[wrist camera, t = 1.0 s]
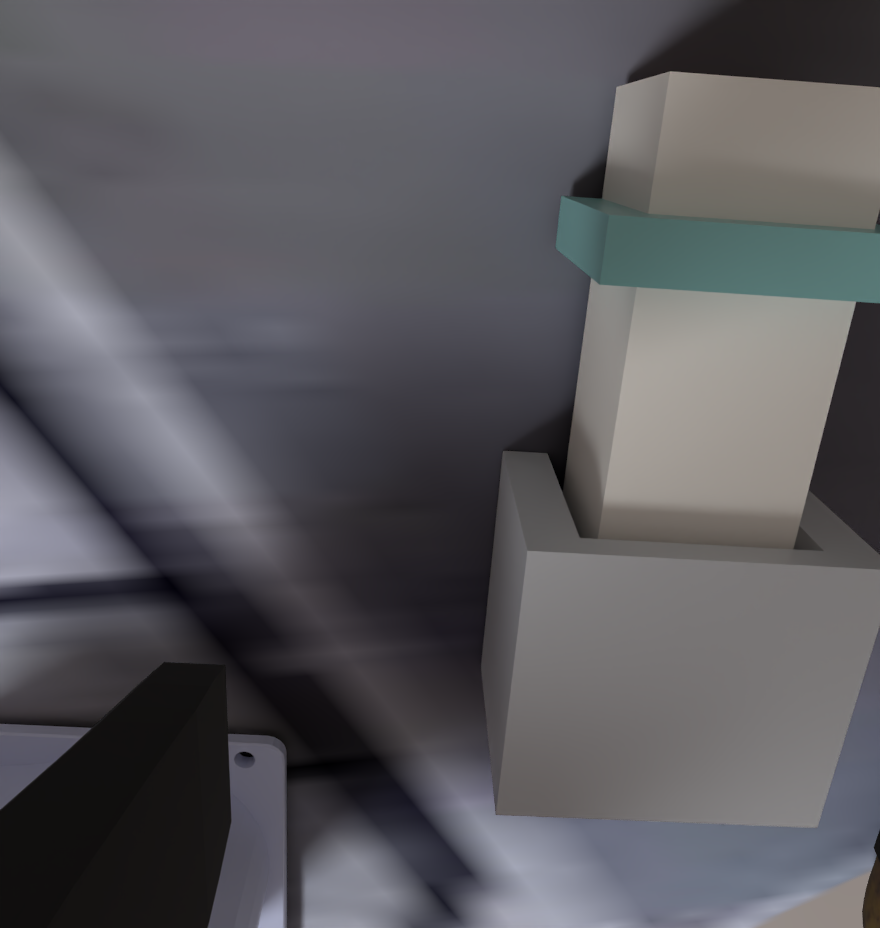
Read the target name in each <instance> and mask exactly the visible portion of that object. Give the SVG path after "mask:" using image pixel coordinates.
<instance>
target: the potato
mask: <svg viewBox="0 0 880 928" xmlns="http://www.w3.org/2000/svg"><path fill="white" fill-rule="evenodd" d="M862 912H863V927H864V928H880V862H879V859H878V857H876V860H875V863H874V866H873V869H872V872H871V874H870V877H869V881H868V884H867V888H866V892H865V897H864V904H863V911H862Z"/></svg>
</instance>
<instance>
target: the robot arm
mask: <svg viewBox="0 0 880 928" xmlns="http://www.w3.org/2000/svg"><path fill="white" fill-rule="evenodd" d="M239 752H248V753H251V754H252V755H253V757H245V756H242V755H241V754H240V753H239ZM874 849H875V852H876V854H877V857H878V859H879V862H880V831H879V834H878V837H877V840H876V843H875V845H874ZM0 928H287V752H286V748H285V745H284V744H283V743H282V742H281V741H280V740H279V739H277V738H275V737H272V736H266V735H243V734H228V722H227V698H226V674H225V665H211V664H190V663H169V662H164V663H163V664H162V665H161V666H159V667H158V668H157V669H156V670H155V671H153V672H152V673H151V674H150V675H149V676H148V677H147V678H146V679H144V680H143V681H142V682H141V683H140V684H139V685H138V686H137V687H136V688H135V689H133V690H132V691H131V692H130V693H129V694H128V695H127V696H126V697H125V698H124V699H123V700H122V701H120V702H119V703H118V704H117V705H116V706H115V707H114V708H113V709H112V710H111V711H110V712H109V713H108V714H106V715H105V716H104V717H103V718H102V719H101V720H100V721H99V722H98V723H97V724H96V725H95V726H93V727H92V728H84V727H61V726H38V725H16V724H0Z"/></svg>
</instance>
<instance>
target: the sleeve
mask: <svg viewBox="0 0 880 928" xmlns="http://www.w3.org/2000/svg"><path fill="white" fill-rule="evenodd" d="M879 626H880V555H879V554H878V553H877V552H876V551H875V550H874V549H873V548H872V547H871V546H870V545H868V544H867V543H866V542H865V541H864V540H863V539H862V538H861V537H860V536H859V535H857V534H856V533H855V532H854V531H853V530H852V529H851V528H850V527H849V526H848V525H847V524H845V523H844V522H843V521H842V520H841V519H840V518H839V517H838V516H837V515H836V514H834V513H833V512H832V511H831V510H830V509H829V508H828V507H827V506H826V505H825V504H824V503H822V502H821V501H820V500H819V499H818V498H817V497H816V496H815V495H814V494H813V493H811V492H810V491H809V490H808V493H807V497H806V501H805V505H804V509H803V513H802V517H801V521H800V525H799V529H798V533H797V537H796V541H795V545H794V548H793V549H776V548H758V547H739V546H721V545H702V544H684V543H665V542H647V541H628V540H610V539H591V538H580V537H579V534H578V532H577V529H576V527H575V524H574V521H573V519H572V516H571V514H570V511H569V508H568V506H567V503H566V501H565V498H564V495H563V493H562V490H561V488H560V485H559V482H558V480H557V477H556V475H555V472H554V469H553V467H552V464H551V462H550V459H549V456H548V454H547V453H535V452H518V451H503V455H502V465H501V474H500V484H499V494H498V504H497V514H496V523H495V533H494V543H493V553H492V563H491V572H490V582H489V592H488V602H487V612H486V621H485V631H484V641H483V651H482V661H481V674H482V684H483V694H484V703H485V713H486V723H487V733H488V743H489V752H490V762H491V772H492V782H493V792H494V801H495V811H496V815H512V816H537V817H561V818H586V819H610V820H635V821H660V822H684V823H709V824H733V825H758V826H782V827H807V828H817V826H818V823H819V820H820V817H821V814H822V810H823V807H824V804H825V801H826V797H827V794H828V791H829V788H830V785H831V781H832V778H833V775H834V772H835V768H836V765H837V762H838V759H839V756H840V752H841V749H842V746H843V743H844V739H845V736H846V733H847V730H848V726H849V723H850V720H851V717H852V714H853V710H854V707H855V704H856V701H857V697H858V694H859V691H860V688H861V685H862V681H863V678H864V675H865V672H866V668H867V665H868V662H869V659H870V655H871V652H872V649H873V646H874V643H875V639H876V636H877V633H878V630H879Z"/></svg>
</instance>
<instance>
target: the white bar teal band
mask: <svg viewBox="0 0 880 928" xmlns="http://www.w3.org/2000/svg"><path fill="white" fill-rule="evenodd" d="M879 210H880V87H868V86H855V85H842V84H829V83H816V82H803V81H789V80H776V79H763V78H750V77H737V76H724V75H711V74H698V73H685V72H672V71H670V72H666V73H663V74H659V75H656V76H652V77H649V78H645V79H642V80H639V81H635V82H632V83H628V84H625V85H621V86H618V87H617V89H616V96H615V104H614V111H613V119H612V126H611V134H610V141H609V149H608V156H607V164H606V171H605V179H604V186H603V194H602V199H600V198H586V197H572V196H561V204H560V212H559V221H558V230H557V238H556V247H555V248H556V249H557V250H558V251H559V252H561V253H562V254H563V255H564V256H566V257H567V258H568V259H569V260H570V261H572V262H573V263H574V264H575V265H576V266H578V267H579V268H580V269H581V270H582V271H584V272H585V273H586V274H587V275H588V276H590V277H591V283H590V291H589V298H588V306H587V313H586V321H585V328H584V336H583V343H582V351H581V358H580V366H579V373H578V381H577V388H576V396H575V403H574V411H573V418H572V426H571V433H570V441H569V448H568V456H567V463H566V471H565V478H564V486H563V495H564V498H565V501H566V503H567V506H568V508H569V511H570V514H571V516H572V519H573V521H574V524H575V527H576V529H577V532H578V534H579V537H580V538H591V539H610V540H628V541H647V542H665V543H684V544H702V545H721V546H739V547H758V548H776V549H793V548H794V545H795V541H796V537H797V533H798V529H799V525H800V521H801V517H802V513H803V509H804V505H805V501H806V497H807V493H808V489H809V486H810V482H811V478H812V474H813V470H814V466H815V462H816V458H817V454H818V450H819V446H820V442H821V438H822V434H823V430H824V427H825V423H826V419H827V415H828V411H829V407H830V403H831V399H832V395H833V391H834V387H835V383H836V379H837V375H838V371H839V368H840V364H841V360H842V356H843V352H844V348H845V344H846V340H847V336H848V332H849V328H850V324H851V320H852V316H853V312H854V308H855V305H856V302H869V303H880V225H879V224H876V222H877V218H878V214H879Z"/></svg>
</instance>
